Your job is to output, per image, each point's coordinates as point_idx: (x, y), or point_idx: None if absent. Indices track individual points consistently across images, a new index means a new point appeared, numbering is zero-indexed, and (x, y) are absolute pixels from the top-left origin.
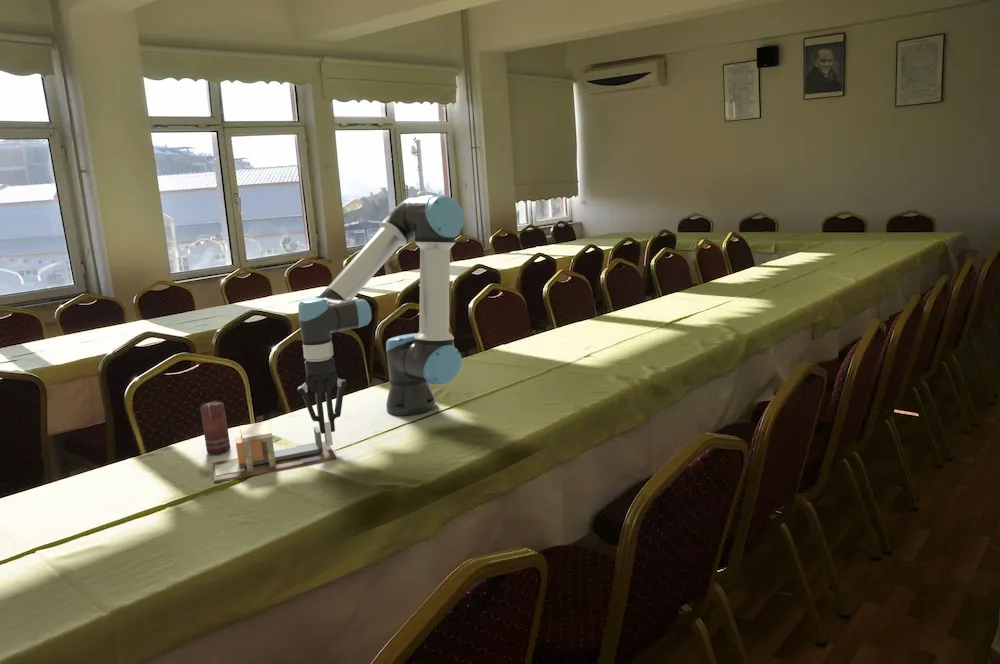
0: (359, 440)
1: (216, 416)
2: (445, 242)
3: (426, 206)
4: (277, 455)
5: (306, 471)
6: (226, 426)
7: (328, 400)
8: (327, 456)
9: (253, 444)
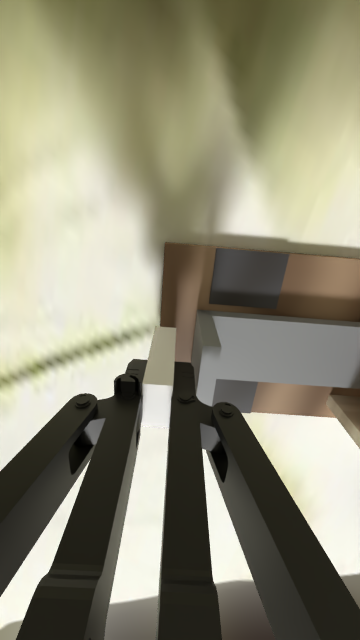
0: (60, 368)
1: None
2: None
3: None
4: (354, 340)
5: (300, 178)
6: None
7: (102, 520)
8: (191, 268)
9: None
